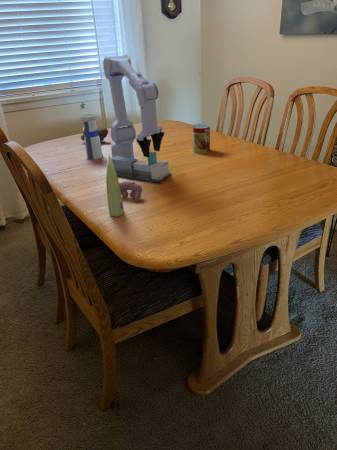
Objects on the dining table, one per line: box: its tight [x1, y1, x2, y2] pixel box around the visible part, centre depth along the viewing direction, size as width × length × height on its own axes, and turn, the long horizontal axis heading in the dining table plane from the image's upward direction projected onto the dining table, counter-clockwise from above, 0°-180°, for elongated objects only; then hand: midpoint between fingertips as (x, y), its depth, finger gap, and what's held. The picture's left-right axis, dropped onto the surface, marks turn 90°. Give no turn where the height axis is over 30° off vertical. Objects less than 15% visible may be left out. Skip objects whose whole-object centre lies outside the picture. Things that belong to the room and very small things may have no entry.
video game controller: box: [119, 181, 143, 203], centre depth 134 cm, size 10×5×7 cm, turn 72°
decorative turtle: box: [80, 127, 109, 144], centre depth 199 cm, size 10×15×8 cm, turn 89°
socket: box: [151, 160, 170, 180], centre depth 148 cm, size 4×7×5 cm, turn 150°
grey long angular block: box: [111, 156, 172, 185], centre depth 153 cm, size 25×10×6 cm, turn 60°
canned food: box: [192, 123, 211, 155], centre depth 175 cm, size 8×8×12 cm
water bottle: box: [79, 101, 104, 160], centre depth 173 cm, size 8×9×25 cm
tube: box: [105, 154, 125, 217], centre depth 120 cm, size 6×5×20 cm
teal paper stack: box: [131, 151, 158, 172], centre depth 150 cm, size 16×3×8 cm, turn 60°
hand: (151, 153), depth 146 cm, fingers open, 7 cm apart
